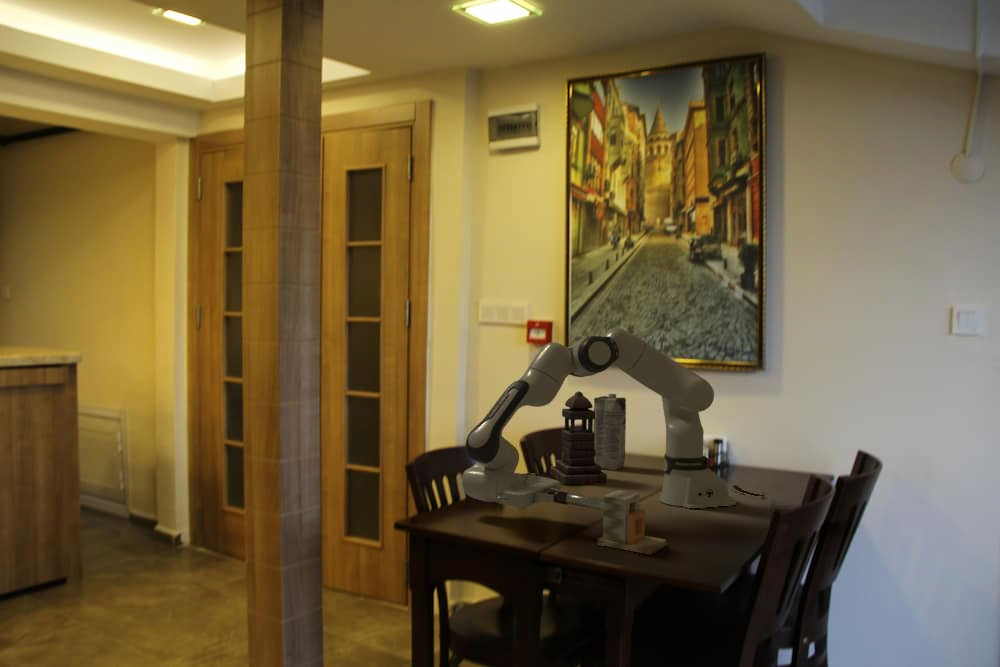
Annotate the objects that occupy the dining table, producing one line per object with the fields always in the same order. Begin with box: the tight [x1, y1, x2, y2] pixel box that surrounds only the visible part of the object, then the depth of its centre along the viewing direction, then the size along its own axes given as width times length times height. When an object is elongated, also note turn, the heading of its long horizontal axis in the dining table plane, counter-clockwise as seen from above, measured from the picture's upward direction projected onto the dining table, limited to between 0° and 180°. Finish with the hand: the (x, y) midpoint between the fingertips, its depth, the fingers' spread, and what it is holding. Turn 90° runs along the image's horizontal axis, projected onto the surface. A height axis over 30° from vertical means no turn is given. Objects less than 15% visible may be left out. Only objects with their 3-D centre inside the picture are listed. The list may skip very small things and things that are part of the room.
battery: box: [593, 393, 627, 471], centre depth 296 cm, size 9×10×27 cm
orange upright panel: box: [626, 508, 646, 544], centre depth 202 cm, size 2×7×7 cm, turn 146°
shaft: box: [548, 490, 604, 511], centre depth 210 cm, size 18×3×3 cm, turn 56°
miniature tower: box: [549, 390, 608, 486], centre depth 276 cm, size 16×15×30 cm
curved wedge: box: [732, 484, 765, 497], centre depth 259 cm, size 8×14×2 cm, turn 179°
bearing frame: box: [597, 489, 667, 554], centre depth 202 cm, size 14×10×12 cm
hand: (558, 497), depth 214 cm, fingers closed on shaft, 3 cm apart
